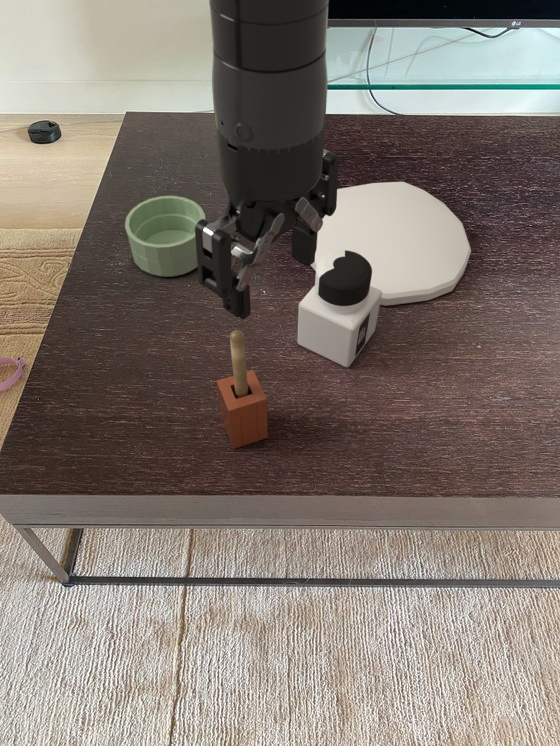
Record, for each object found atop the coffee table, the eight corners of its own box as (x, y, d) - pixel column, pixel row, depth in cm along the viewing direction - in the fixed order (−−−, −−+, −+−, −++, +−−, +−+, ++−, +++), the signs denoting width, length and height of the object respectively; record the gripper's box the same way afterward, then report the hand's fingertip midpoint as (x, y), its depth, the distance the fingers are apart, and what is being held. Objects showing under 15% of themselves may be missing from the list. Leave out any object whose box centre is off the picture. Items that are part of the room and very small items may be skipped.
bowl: (143, 287, 88) (135, 255, 83) (125, 238, 94) (117, 206, 89) (218, 267, 90) (215, 235, 85) (196, 221, 96) (192, 188, 92)
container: (375, 331, 83) (389, 257, 72) (347, 369, 79) (358, 297, 68) (325, 308, 85) (332, 234, 75) (296, 344, 81) (298, 271, 71)
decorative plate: (283, 184, 95) (435, 163, 99) (283, 206, 99) (429, 185, 102) (327, 298, 81) (503, 269, 84) (325, 320, 84) (495, 291, 87)
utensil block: (233, 449, 72) (228, 410, 65) (221, 420, 74) (216, 380, 68) (267, 437, 73) (266, 398, 66) (255, 409, 75) (253, 369, 69)
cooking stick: (240, 435, 73) (232, 339, 59) (237, 426, 74) (227, 329, 60) (252, 431, 73) (245, 335, 59) (248, 422, 74) (241, 325, 60)
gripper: (295, 57, 47) (291, 228, 59) (153, 137, 40) (183, 310, 53) (377, 91, 44) (354, 263, 56) (238, 184, 37) (248, 355, 50)
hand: (271, 286), depth 55 cm, fingers open, 8 cm apart
